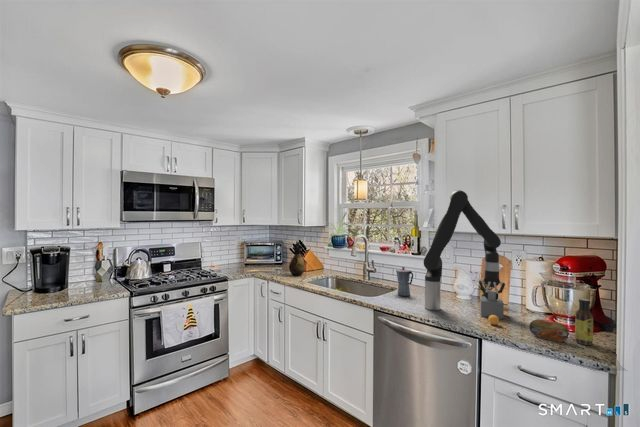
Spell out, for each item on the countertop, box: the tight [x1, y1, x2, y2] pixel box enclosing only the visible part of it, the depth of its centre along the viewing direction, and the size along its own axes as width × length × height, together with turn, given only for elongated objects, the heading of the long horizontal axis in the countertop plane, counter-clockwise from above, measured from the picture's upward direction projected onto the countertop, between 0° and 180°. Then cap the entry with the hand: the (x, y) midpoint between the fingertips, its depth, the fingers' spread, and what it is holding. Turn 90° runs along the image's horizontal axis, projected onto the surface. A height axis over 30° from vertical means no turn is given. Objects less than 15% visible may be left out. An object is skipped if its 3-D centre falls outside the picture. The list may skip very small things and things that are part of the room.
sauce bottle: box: [574, 298, 594, 346], centre depth 144 cm, size 6×6×20 cm
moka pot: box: [395, 266, 414, 297], centre depth 228 cm, size 10×15×20 cm, turn 40°
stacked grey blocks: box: [479, 290, 505, 320], centre depth 184 cm, size 11×11×14 cm
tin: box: [528, 318, 570, 343], centre depth 149 cm, size 15×3×8 cm, turn 45°
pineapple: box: [288, 243, 306, 277], centre depth 298 cm, size 17×15×30 cm
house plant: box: [476, 281, 494, 297], centre depth 204 cm, size 14×14×16 cm
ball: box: [487, 315, 500, 326], centre depth 167 cm, size 5×5×5 cm
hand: (491, 299), depth 184 cm, fingers closed on stacked grey blocks, 4 cm apart
